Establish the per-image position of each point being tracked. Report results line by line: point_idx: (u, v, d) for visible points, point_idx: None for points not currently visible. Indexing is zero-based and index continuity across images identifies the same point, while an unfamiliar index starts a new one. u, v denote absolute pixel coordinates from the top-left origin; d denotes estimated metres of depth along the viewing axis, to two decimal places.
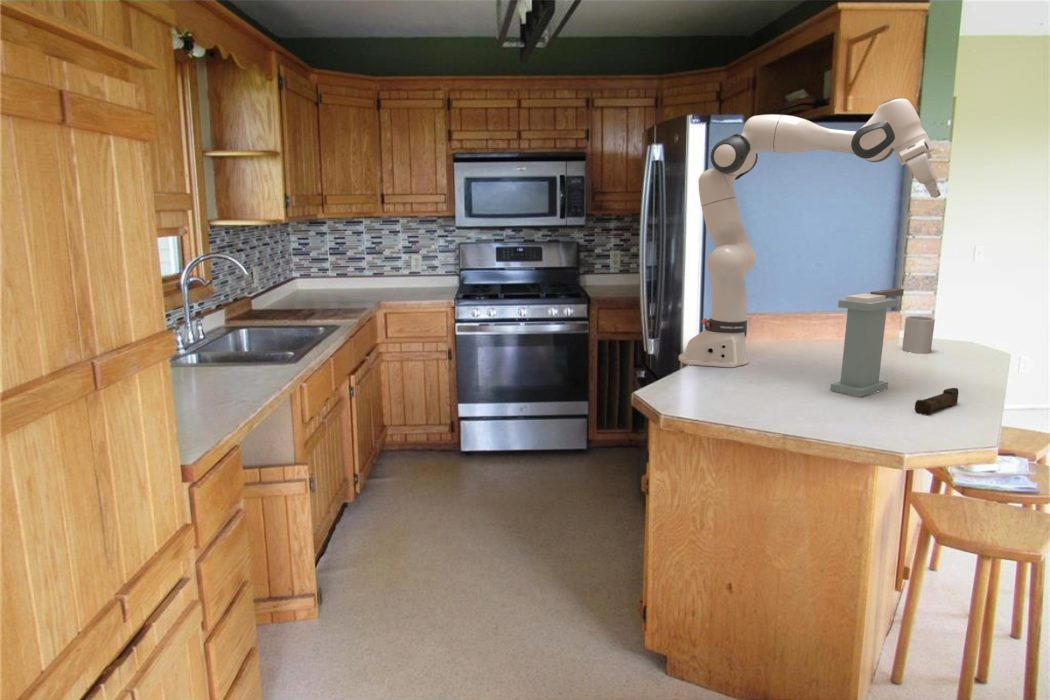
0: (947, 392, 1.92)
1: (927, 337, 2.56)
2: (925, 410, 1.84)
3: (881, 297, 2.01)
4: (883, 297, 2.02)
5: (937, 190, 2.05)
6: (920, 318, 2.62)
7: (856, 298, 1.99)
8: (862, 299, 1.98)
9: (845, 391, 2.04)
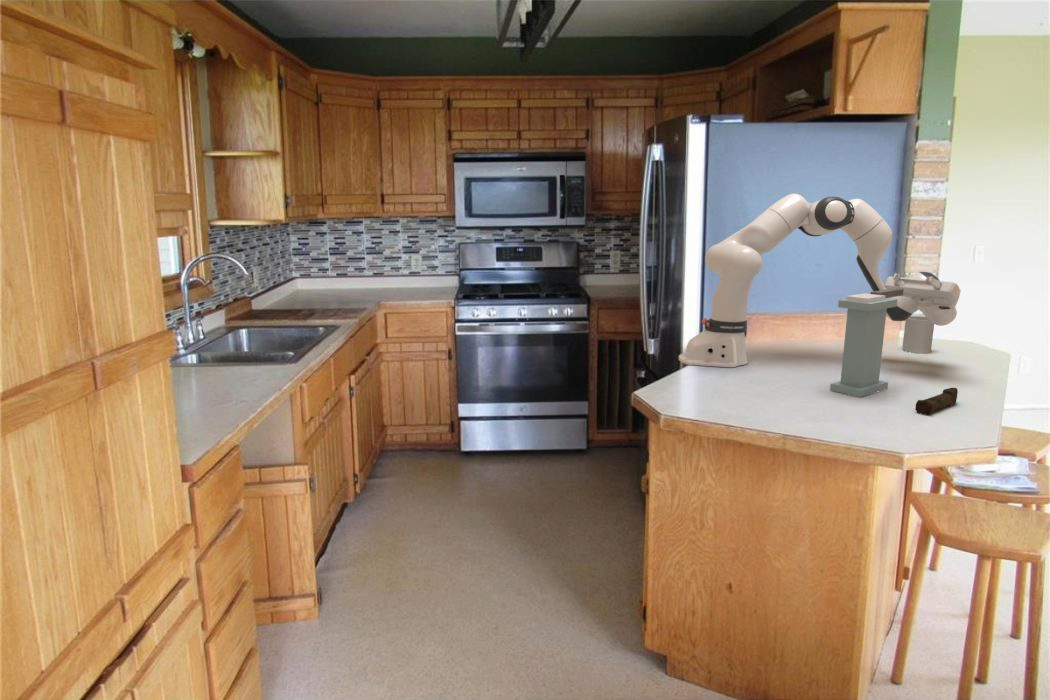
0: (947, 392, 1.92)
1: (927, 337, 2.56)
2: (926, 410, 1.84)
3: (881, 297, 2.01)
4: (883, 297, 2.02)
5: (900, 280, 2.20)
6: (920, 318, 2.62)
7: (856, 298, 1.99)
8: (862, 299, 1.98)
9: (845, 391, 2.04)
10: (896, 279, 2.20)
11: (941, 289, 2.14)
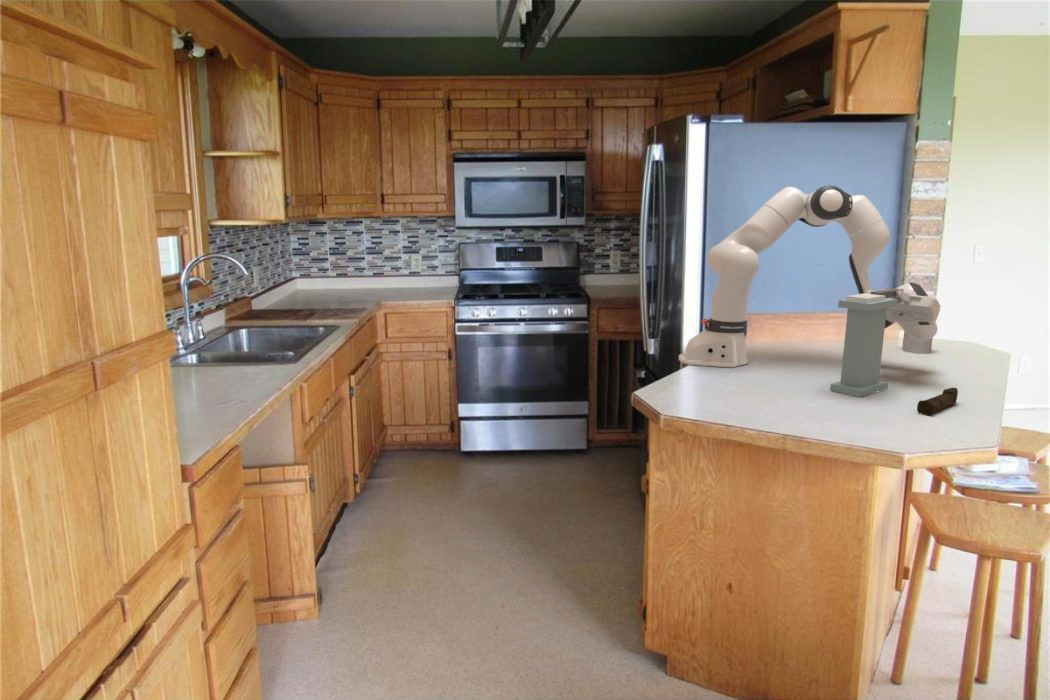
0: (947, 392, 1.92)
1: None
2: (928, 410, 1.84)
3: (881, 297, 2.01)
4: (883, 297, 2.02)
5: None
6: None
7: (856, 298, 1.99)
8: (862, 299, 1.98)
9: (845, 391, 2.04)
10: None
11: (920, 304, 2.08)
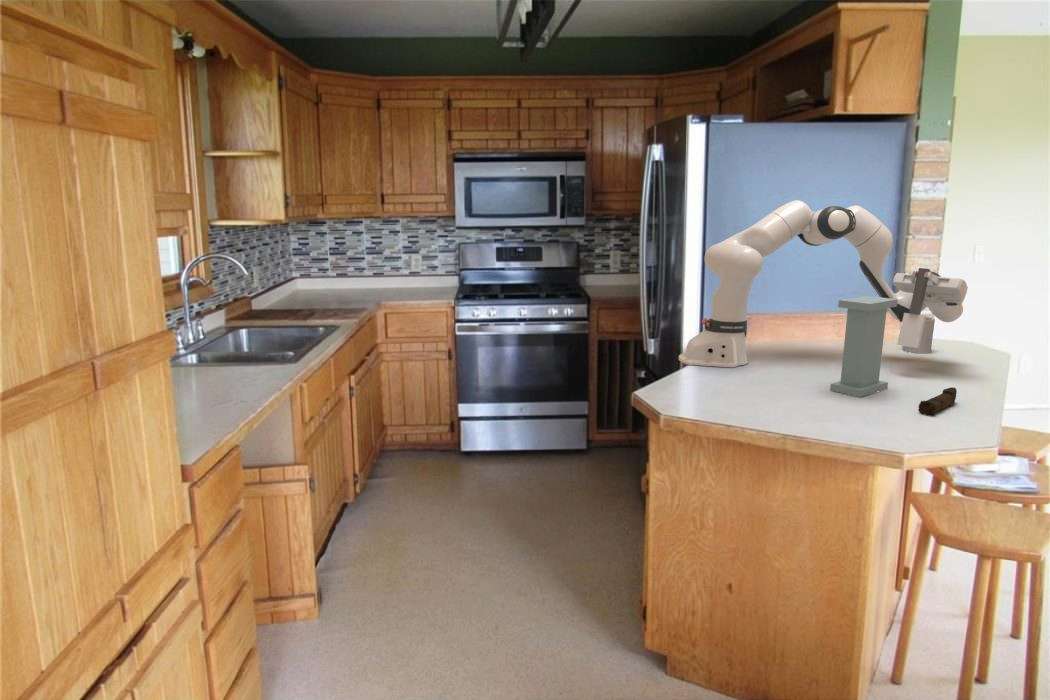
0: (947, 392, 1.92)
1: (927, 337, 2.56)
2: (929, 411, 1.84)
3: (923, 322, 2.20)
4: (924, 319, 2.20)
5: None
6: None
7: None
8: None
9: (845, 391, 2.04)
10: (913, 276, 2.22)
11: (949, 285, 2.17)
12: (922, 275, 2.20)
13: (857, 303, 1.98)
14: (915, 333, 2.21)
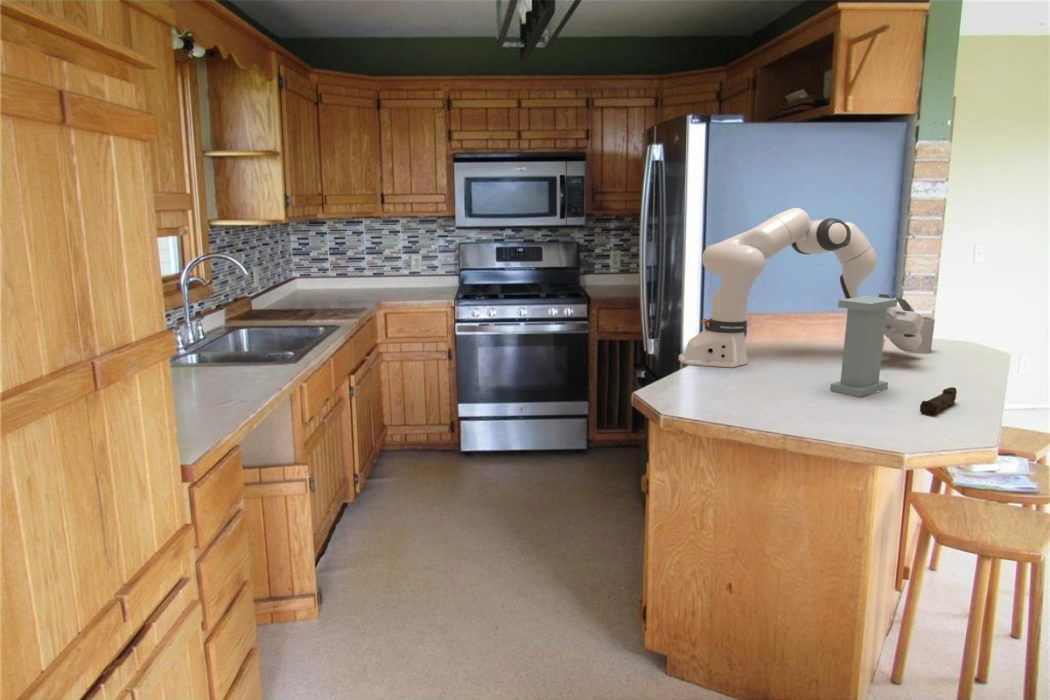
0: (947, 392, 1.92)
1: (927, 337, 2.56)
2: (931, 411, 1.83)
3: None
4: (883, 342, 2.32)
5: None
6: None
7: None
8: None
9: (845, 391, 2.04)
10: None
11: (905, 318, 2.29)
12: None
13: (857, 303, 1.98)
14: None
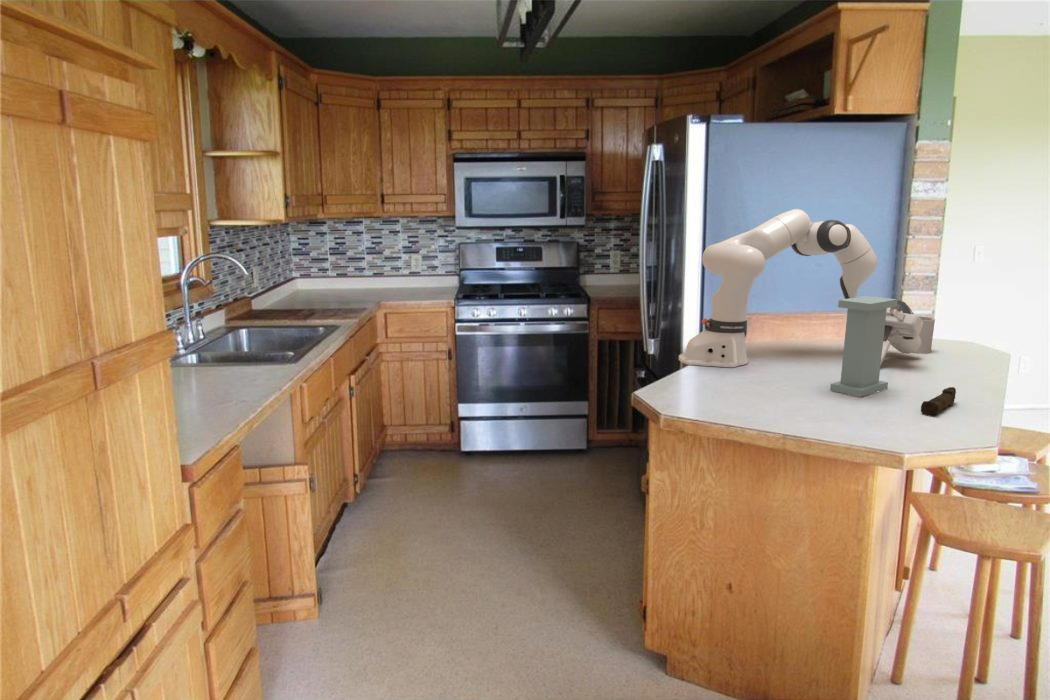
0: (947, 392, 1.92)
1: (927, 337, 2.56)
2: (932, 411, 1.83)
3: (887, 348, 2.34)
4: (888, 345, 2.34)
5: None
6: None
7: None
8: None
9: (845, 391, 2.04)
10: None
11: (904, 321, 2.29)
12: None
13: (857, 303, 1.98)
14: None
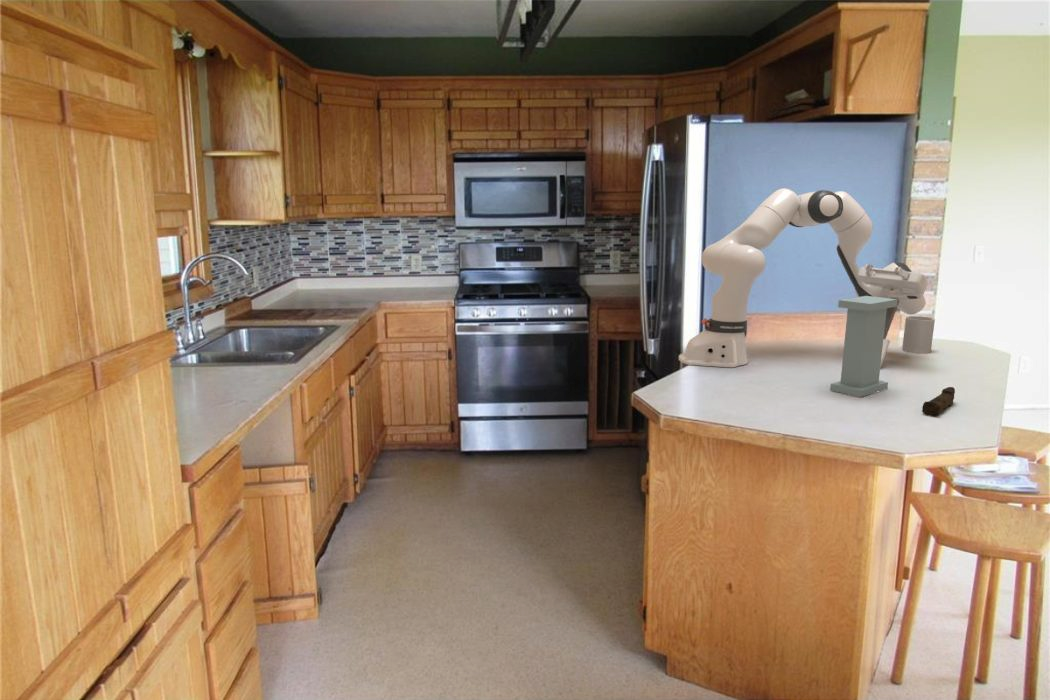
0: (946, 392, 1.92)
1: (927, 337, 2.56)
2: (934, 411, 1.83)
3: (886, 346, 2.34)
4: (888, 343, 2.34)
5: (871, 270, 2.33)
6: (920, 318, 2.62)
7: None
8: None
9: (845, 391, 2.04)
10: (867, 269, 2.33)
11: (909, 279, 2.26)
12: None
13: (857, 303, 1.98)
14: None
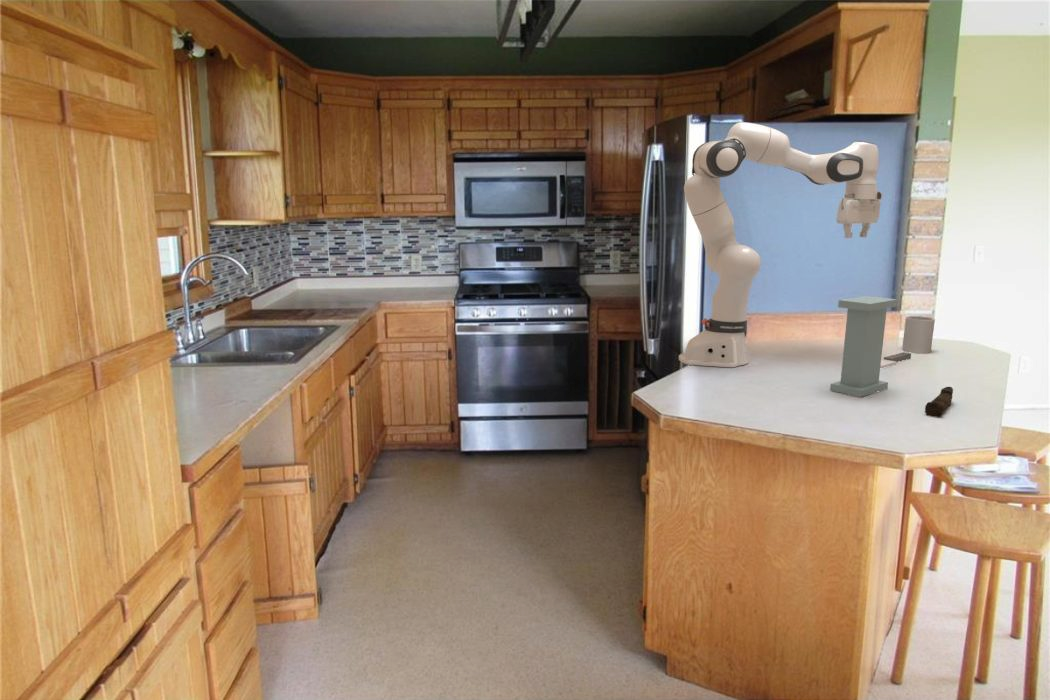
0: (945, 392, 1.92)
1: (927, 337, 2.56)
2: (937, 412, 1.83)
3: (893, 363, 2.38)
4: (894, 363, 2.39)
5: None
6: (920, 318, 2.62)
7: None
8: None
9: (845, 391, 2.04)
10: None
11: None
12: (904, 353, 2.49)
13: (857, 303, 1.98)
14: (883, 363, 2.37)
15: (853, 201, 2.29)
